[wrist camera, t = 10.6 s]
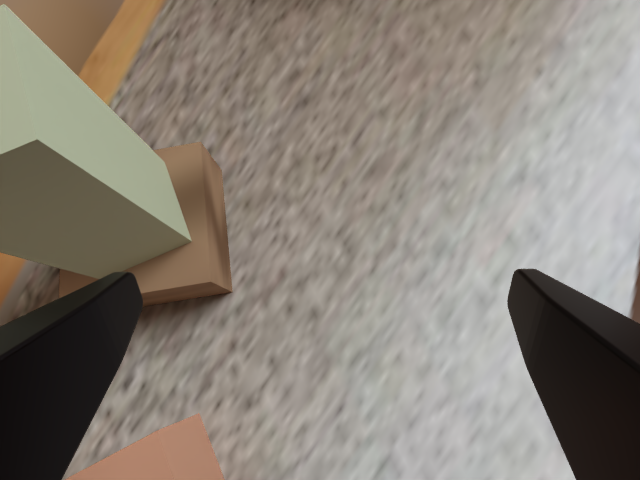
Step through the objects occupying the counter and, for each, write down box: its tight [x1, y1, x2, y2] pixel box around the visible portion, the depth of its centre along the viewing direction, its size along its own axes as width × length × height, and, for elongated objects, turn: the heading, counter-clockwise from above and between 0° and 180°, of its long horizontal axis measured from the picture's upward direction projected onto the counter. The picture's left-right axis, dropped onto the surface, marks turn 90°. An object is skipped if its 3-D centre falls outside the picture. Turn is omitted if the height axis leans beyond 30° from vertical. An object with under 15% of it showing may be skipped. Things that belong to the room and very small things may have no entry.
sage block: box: [0, 4, 192, 279], centre depth 16 cm, size 5×5×10 cm
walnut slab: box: [59, 142, 232, 307], centre depth 23 cm, size 8×8×4 cm
